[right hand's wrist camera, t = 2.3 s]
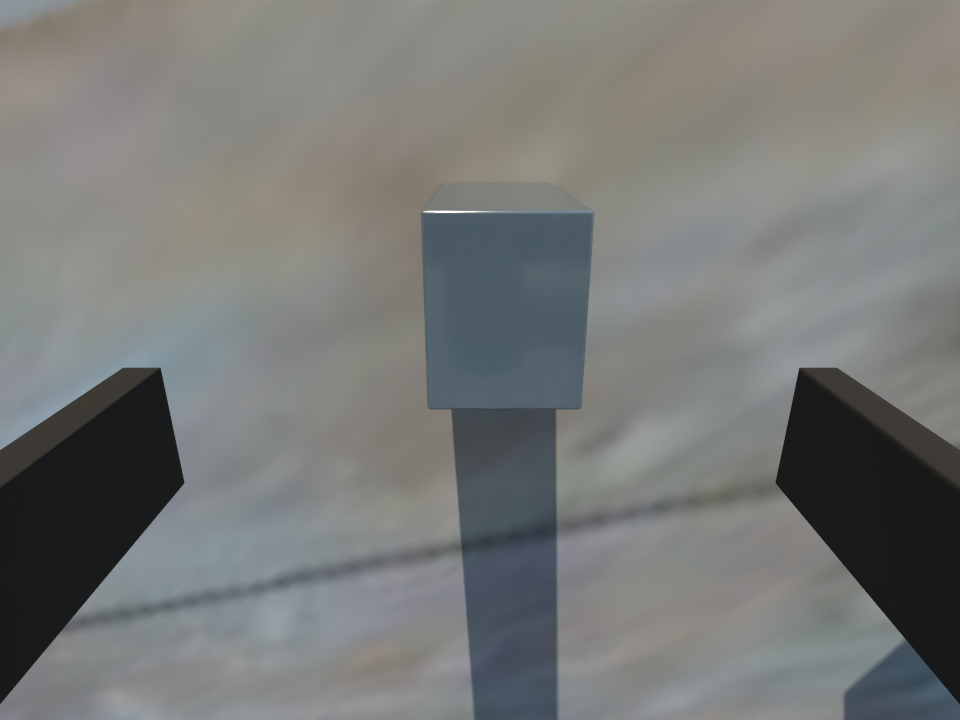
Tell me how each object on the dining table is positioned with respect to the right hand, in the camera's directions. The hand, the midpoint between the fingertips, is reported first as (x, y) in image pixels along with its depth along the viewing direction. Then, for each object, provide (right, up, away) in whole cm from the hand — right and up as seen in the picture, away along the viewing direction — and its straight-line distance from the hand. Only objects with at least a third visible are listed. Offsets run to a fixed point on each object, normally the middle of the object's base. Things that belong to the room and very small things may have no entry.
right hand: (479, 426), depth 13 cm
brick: (+1, +6, +15) cm, 16 cm away
